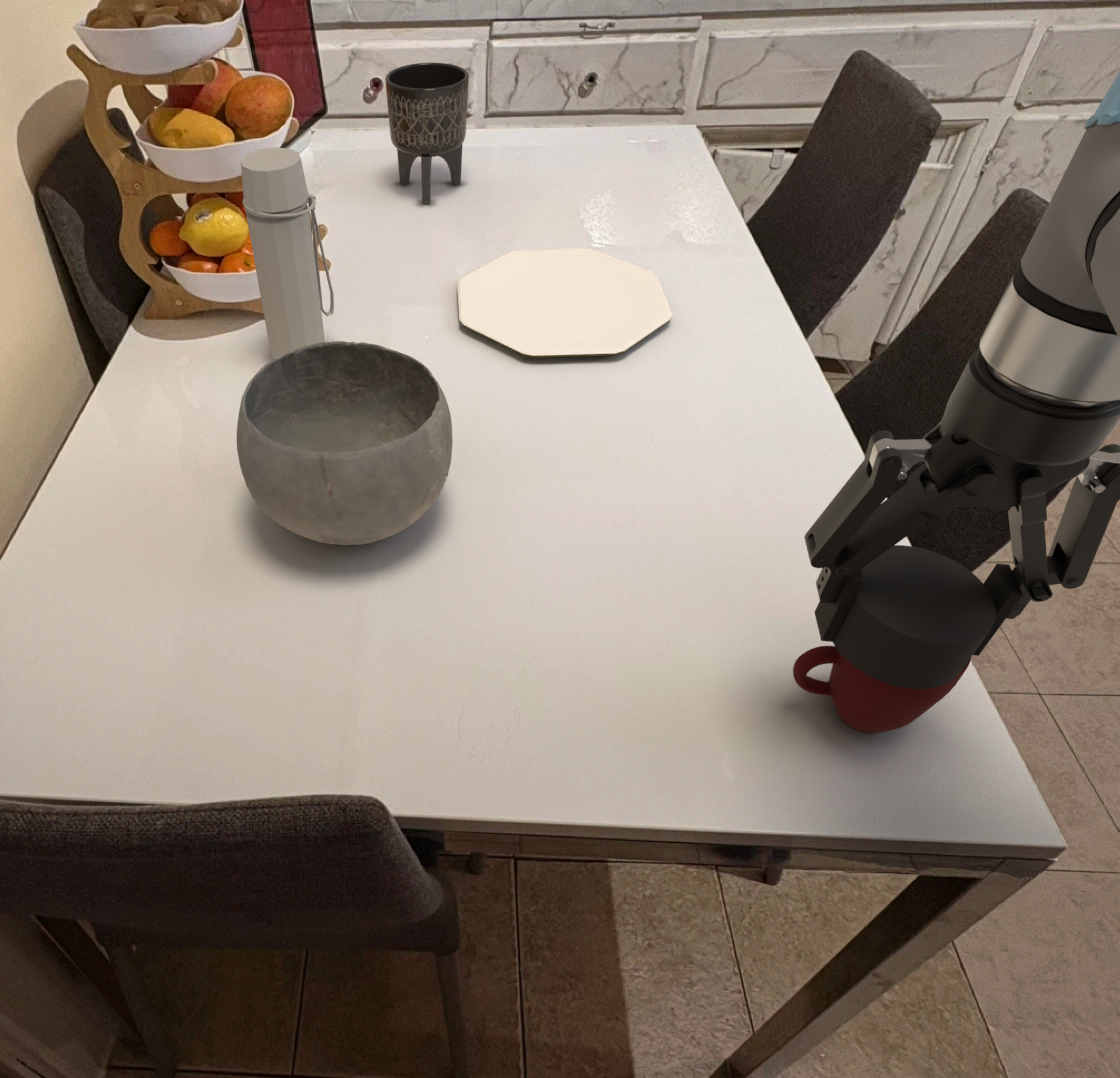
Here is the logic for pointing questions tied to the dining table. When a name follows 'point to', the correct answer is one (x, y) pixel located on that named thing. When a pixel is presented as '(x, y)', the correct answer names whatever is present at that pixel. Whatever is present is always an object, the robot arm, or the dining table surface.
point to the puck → (915, 619)
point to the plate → (562, 302)
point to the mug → (866, 693)
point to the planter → (428, 118)
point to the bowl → (344, 441)
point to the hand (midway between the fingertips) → (894, 633)
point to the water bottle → (284, 248)
